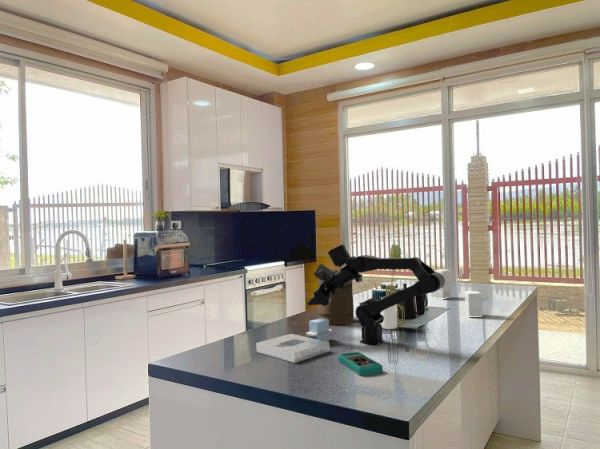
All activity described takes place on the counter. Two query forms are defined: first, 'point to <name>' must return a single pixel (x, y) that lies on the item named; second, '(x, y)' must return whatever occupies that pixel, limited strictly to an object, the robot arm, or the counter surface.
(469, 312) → the small box
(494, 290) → the counter surface
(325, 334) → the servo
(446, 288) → the skincare box
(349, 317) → the wooden container
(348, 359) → the digital multimeter
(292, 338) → the white flat slab
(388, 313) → the can
